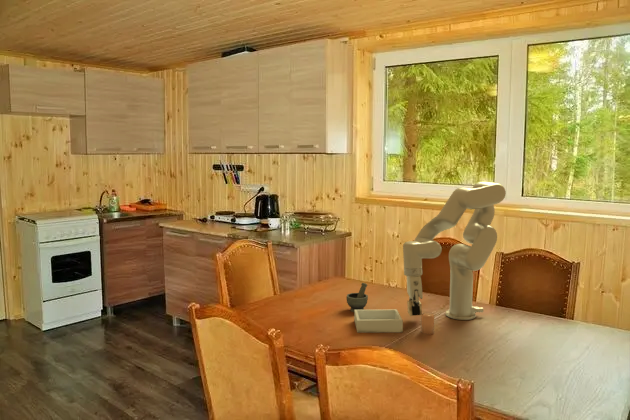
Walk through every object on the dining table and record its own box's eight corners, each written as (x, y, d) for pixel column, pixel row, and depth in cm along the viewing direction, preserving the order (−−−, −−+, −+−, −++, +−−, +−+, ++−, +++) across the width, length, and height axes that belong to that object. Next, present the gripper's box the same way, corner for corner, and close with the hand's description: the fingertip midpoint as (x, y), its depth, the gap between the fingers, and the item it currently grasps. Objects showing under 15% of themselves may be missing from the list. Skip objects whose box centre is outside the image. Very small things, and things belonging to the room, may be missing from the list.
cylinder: (432, 330, 209) (432, 313, 208) (435, 334, 204) (435, 317, 203) (419, 330, 209) (420, 313, 208) (422, 334, 204) (423, 317, 203)
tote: (396, 320, 220) (396, 309, 219) (402, 332, 206) (402, 320, 205) (354, 321, 220) (354, 309, 219) (357, 332, 206) (357, 320, 205)
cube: (419, 311, 222) (419, 299, 221) (421, 315, 217) (421, 303, 216) (407, 311, 222) (407, 300, 221) (410, 315, 217) (409, 304, 216)
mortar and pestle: (357, 315, 228) (358, 288, 226) (342, 310, 234) (342, 284, 233) (374, 309, 235) (374, 283, 234) (358, 305, 242) (358, 280, 241)
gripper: (426, 275, 208) (428, 319, 211) (417, 265, 225) (419, 305, 228) (407, 276, 208) (409, 320, 211) (400, 266, 225) (402, 306, 228)
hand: (414, 312), depth 219 cm, fingers closed on cube, 4 cm apart
